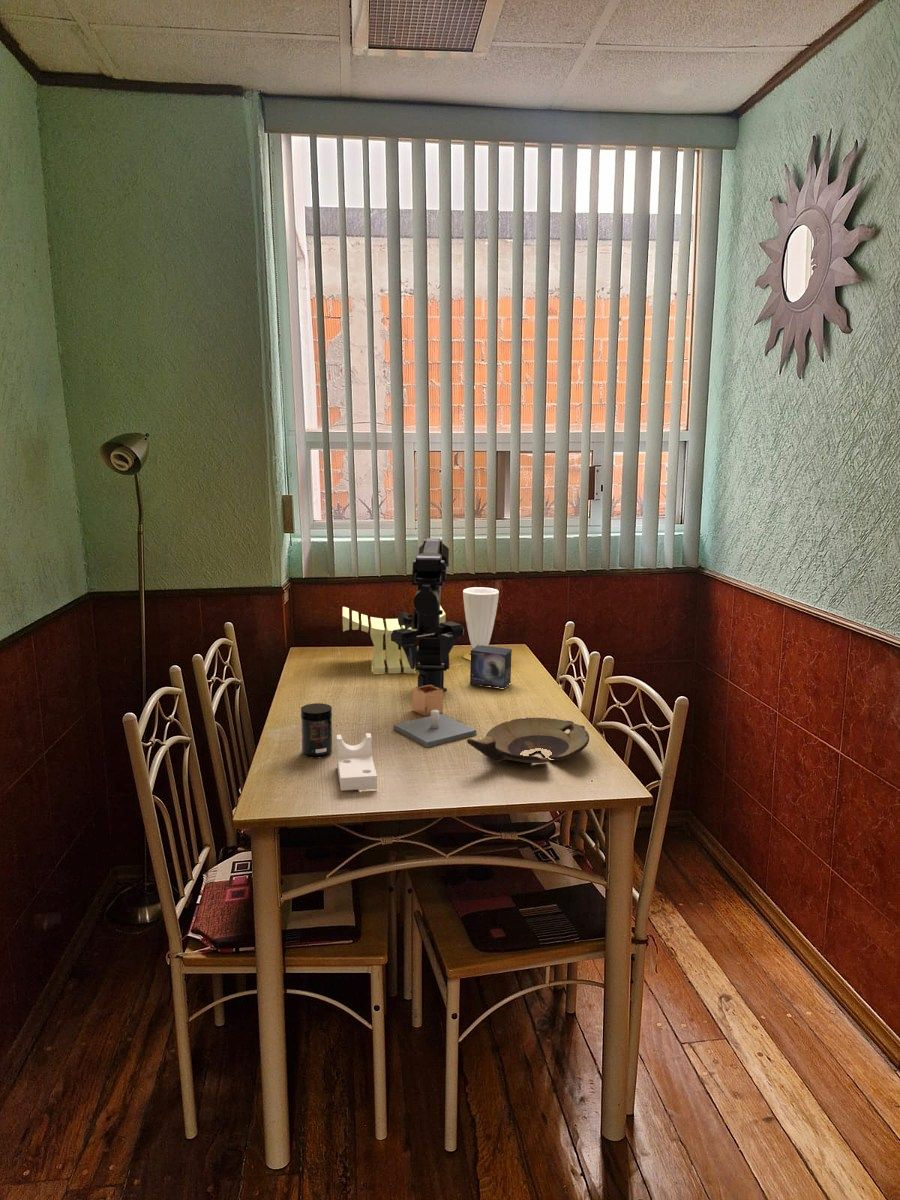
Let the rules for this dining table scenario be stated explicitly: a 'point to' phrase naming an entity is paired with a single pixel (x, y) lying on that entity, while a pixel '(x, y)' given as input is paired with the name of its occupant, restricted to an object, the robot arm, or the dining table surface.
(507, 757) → the oil lamp
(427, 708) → the hollow wooden cube
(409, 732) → the stand
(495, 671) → the small box
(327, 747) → the supplement container
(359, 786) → the bracket
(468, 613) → the cup
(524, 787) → the dining table surface
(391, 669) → the slatted curved stool
